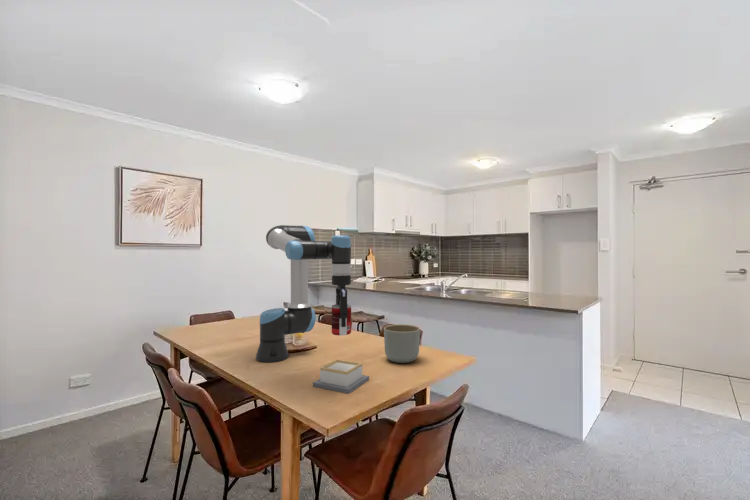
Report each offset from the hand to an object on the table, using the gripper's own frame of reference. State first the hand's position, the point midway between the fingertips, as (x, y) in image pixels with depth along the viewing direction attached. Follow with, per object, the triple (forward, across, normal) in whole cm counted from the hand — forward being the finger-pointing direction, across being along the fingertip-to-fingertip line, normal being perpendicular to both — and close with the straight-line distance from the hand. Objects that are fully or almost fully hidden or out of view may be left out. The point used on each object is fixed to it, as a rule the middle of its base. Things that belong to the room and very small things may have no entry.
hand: (341, 332), depth 143 cm
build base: (+20, 0, 0) cm, 20 cm away
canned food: (+1, 0, 0) cm, 1 cm away
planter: (+20, +23, -32) cm, 44 cm away
